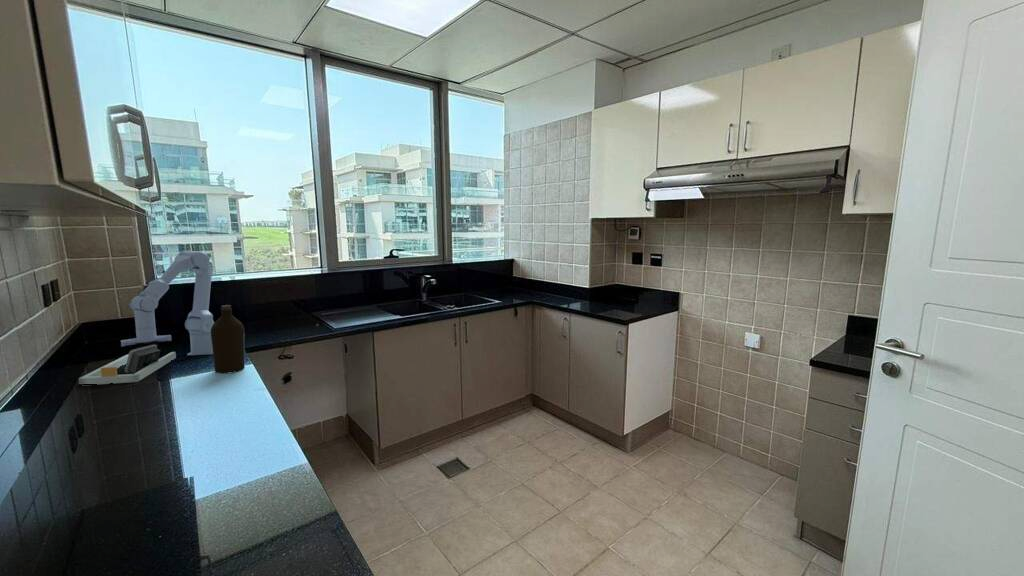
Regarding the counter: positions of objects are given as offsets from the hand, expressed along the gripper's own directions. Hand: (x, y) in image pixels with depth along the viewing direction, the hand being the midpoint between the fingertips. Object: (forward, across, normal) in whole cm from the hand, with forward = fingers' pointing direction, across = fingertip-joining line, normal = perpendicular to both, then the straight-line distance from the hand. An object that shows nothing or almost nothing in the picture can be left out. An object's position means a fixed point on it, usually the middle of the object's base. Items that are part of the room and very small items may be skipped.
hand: (148, 361), depth 161 cm
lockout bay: (+2, +5, +3) cm, 6 cm away
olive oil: (+2, -23, +23) cm, 32 cm away
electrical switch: (+2, +2, +5) cm, 6 cm away
